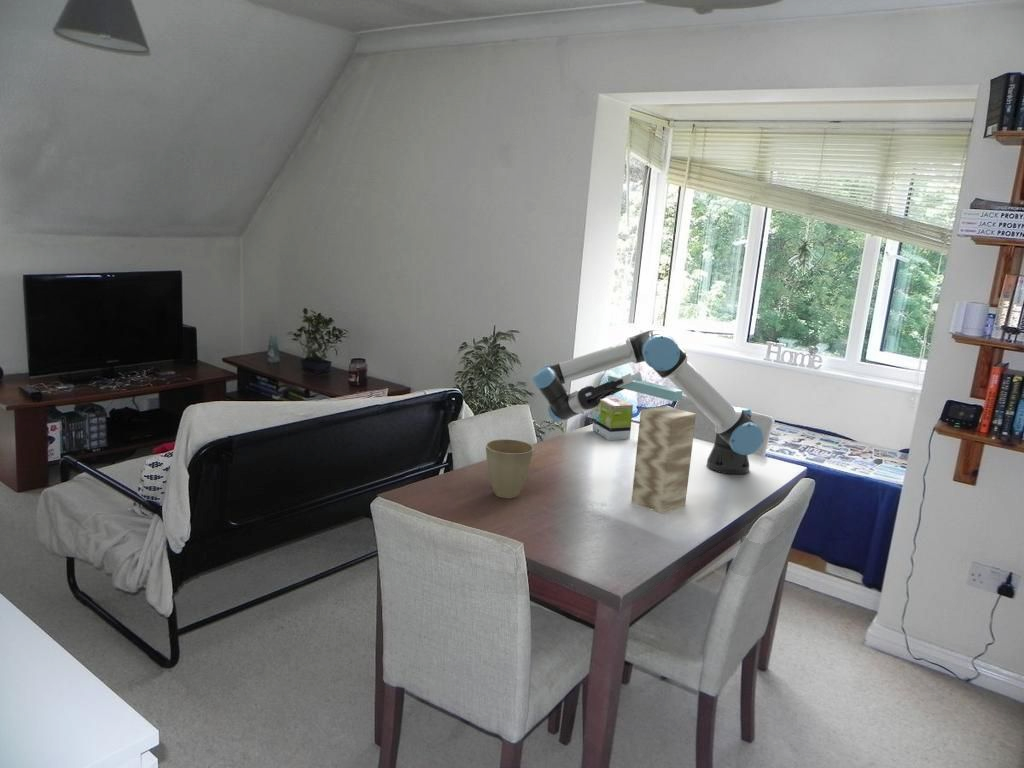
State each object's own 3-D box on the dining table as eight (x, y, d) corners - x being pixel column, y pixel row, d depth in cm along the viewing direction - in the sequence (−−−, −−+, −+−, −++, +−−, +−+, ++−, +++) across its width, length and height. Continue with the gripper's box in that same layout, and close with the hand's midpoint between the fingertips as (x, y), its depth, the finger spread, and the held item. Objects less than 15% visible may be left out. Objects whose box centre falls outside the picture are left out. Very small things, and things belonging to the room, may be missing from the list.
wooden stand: (631, 501, 248) (640, 409, 242) (654, 494, 256) (664, 405, 250) (662, 513, 239) (672, 418, 233) (685, 505, 247) (696, 413, 241)
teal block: (607, 384, 255) (608, 375, 255) (615, 383, 258) (616, 374, 257) (673, 401, 237) (674, 391, 236) (681, 399, 240) (682, 390, 239)
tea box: (591, 430, 329) (594, 396, 326) (612, 429, 333) (615, 395, 330) (609, 440, 316) (612, 405, 313) (630, 439, 320) (634, 404, 317)
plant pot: (473, 492, 247) (475, 444, 243) (505, 483, 257) (508, 436, 254) (507, 506, 237) (510, 456, 234) (539, 496, 248) (543, 447, 244)
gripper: (604, 406, 271) (655, 385, 254) (571, 413, 259) (622, 390, 243) (598, 386, 272) (648, 363, 255) (564, 391, 260) (615, 368, 244)
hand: (635, 376), depth 249 cm, fingers closed on teal block, 4 cm apart
